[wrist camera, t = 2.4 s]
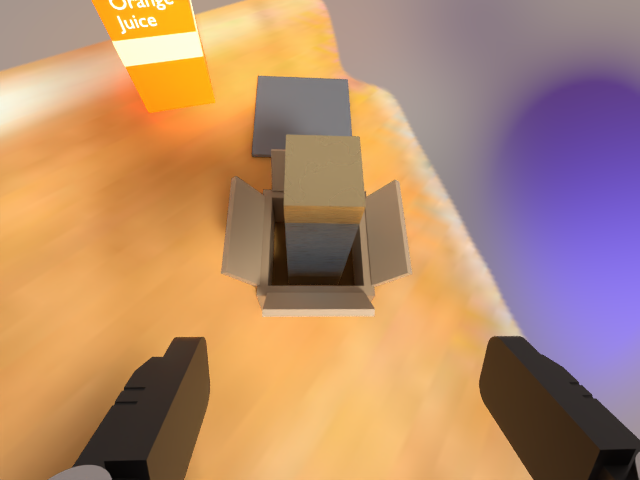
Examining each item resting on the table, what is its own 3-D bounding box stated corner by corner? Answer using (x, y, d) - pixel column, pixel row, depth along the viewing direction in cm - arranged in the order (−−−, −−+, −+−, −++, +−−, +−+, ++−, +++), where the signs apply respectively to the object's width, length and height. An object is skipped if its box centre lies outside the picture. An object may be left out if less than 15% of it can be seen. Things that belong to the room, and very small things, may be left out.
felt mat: (252, 156, 37) (251, 154, 37) (258, 78, 42) (258, 75, 42) (353, 159, 38) (353, 156, 38) (347, 82, 43) (347, 79, 43)
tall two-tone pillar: (288, 285, 31) (283, 205, 19) (289, 235, 33) (285, 134, 21) (337, 285, 32) (365, 206, 19) (335, 236, 34) (359, 136, 21)
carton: (234, 336, 29) (215, 315, 22) (246, 195, 35) (234, 145, 28) (391, 335, 30) (419, 315, 23) (377, 198, 36) (395, 150, 29)
